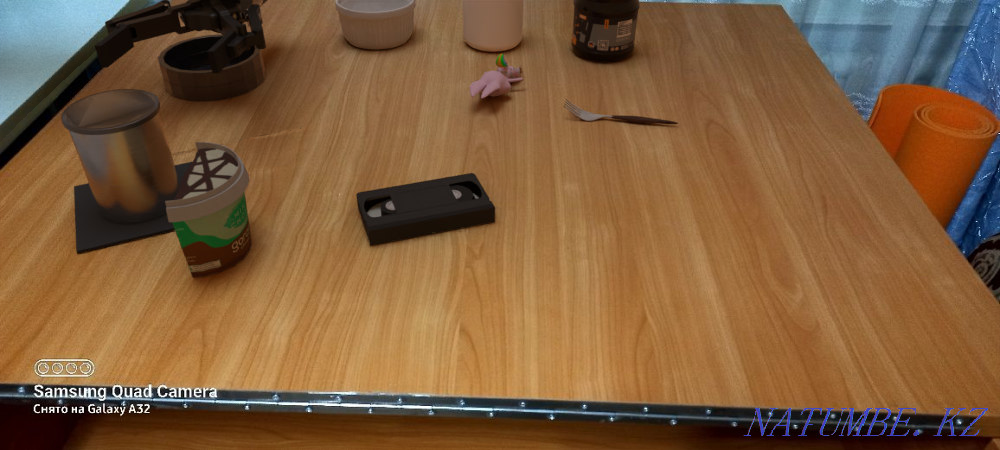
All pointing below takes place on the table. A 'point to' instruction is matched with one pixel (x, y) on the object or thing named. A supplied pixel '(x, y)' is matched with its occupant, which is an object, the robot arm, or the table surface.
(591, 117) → the fork
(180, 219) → the food container
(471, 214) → the vhs tape
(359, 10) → the ramekin
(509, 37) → the cup
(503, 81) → the rabbit figure
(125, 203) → the small pot
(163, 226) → the mat
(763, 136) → the table surface
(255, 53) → the shallow dark brown bowl
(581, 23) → the supplement container
